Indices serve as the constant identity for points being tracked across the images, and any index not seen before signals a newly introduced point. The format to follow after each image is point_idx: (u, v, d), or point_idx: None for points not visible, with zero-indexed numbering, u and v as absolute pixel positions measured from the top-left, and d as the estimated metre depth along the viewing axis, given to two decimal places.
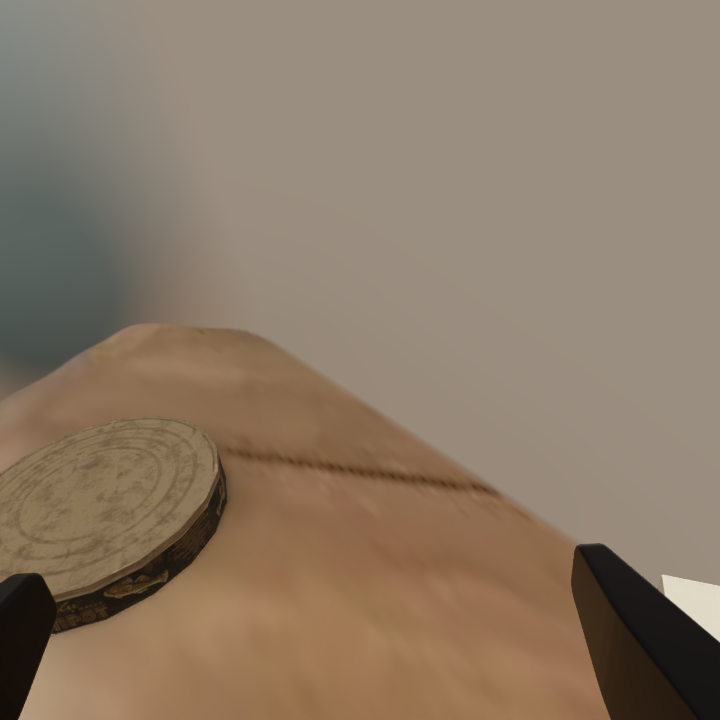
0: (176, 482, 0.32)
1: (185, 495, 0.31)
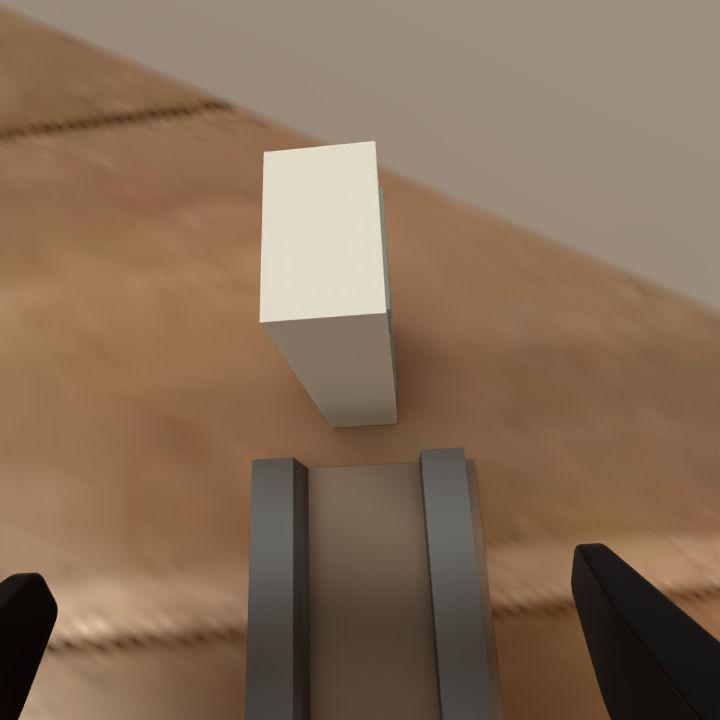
0: None
1: None
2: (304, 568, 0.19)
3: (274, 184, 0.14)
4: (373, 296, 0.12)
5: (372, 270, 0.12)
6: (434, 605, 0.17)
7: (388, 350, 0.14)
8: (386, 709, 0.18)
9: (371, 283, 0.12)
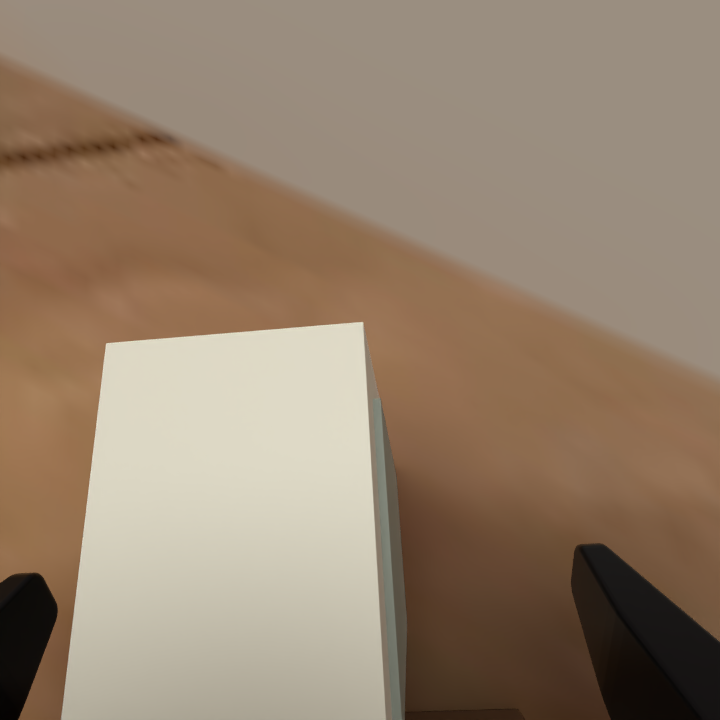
0: None
1: None
2: None
3: (120, 432, 0.06)
4: None
5: None
6: None
7: None
8: None
9: None
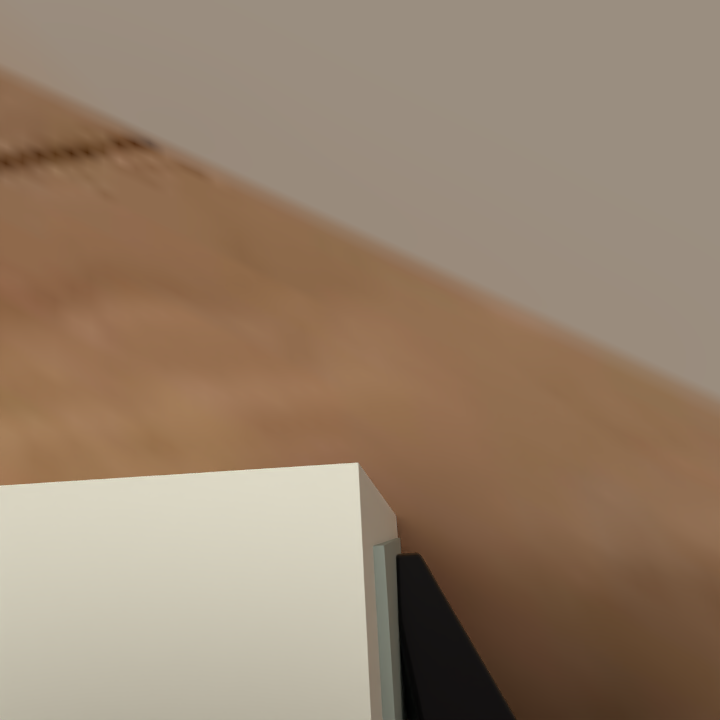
0: None
1: None
2: None
3: None
4: None
5: None
6: None
7: None
8: None
9: None
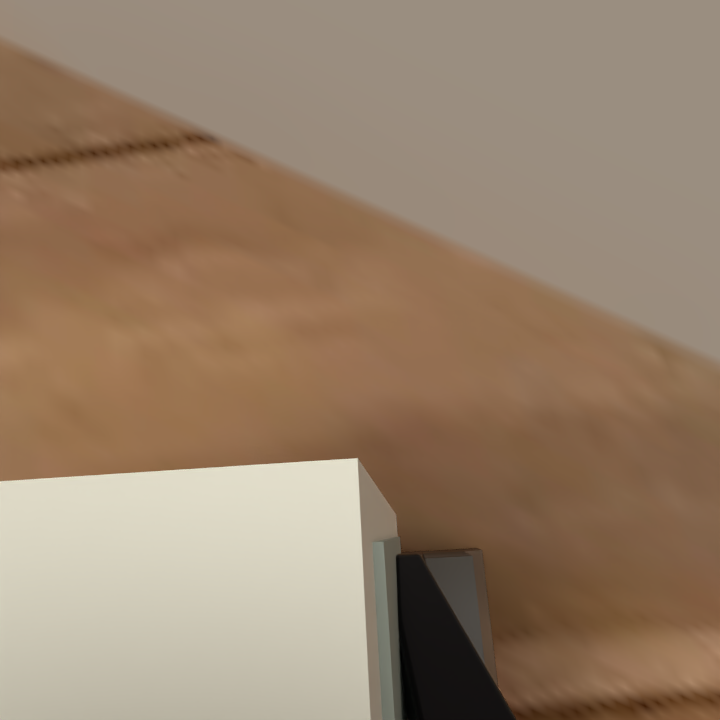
0: None
1: None
2: None
3: None
4: None
5: None
6: None
7: None
8: None
9: None
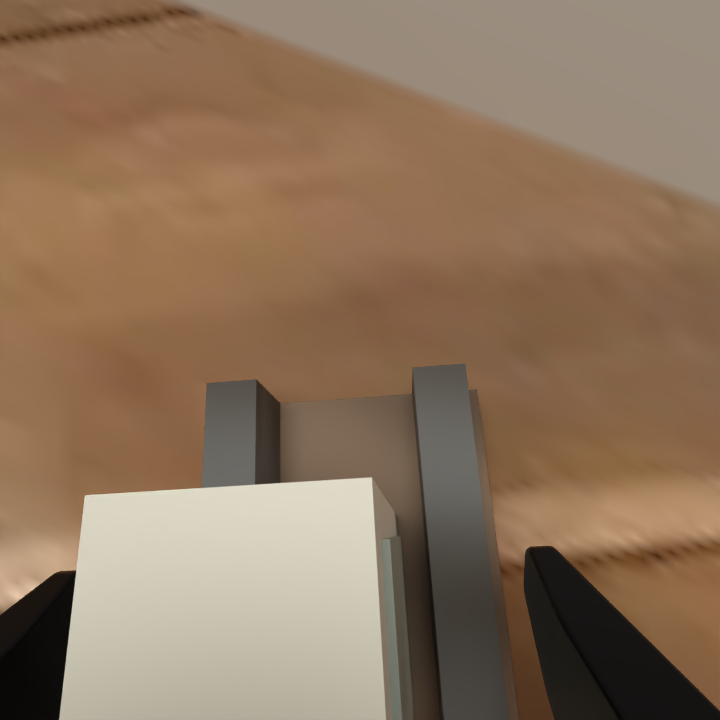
0: None
1: None
2: None
3: (100, 606, 0.05)
4: None
5: None
6: (430, 552, 0.13)
7: None
8: None
9: None
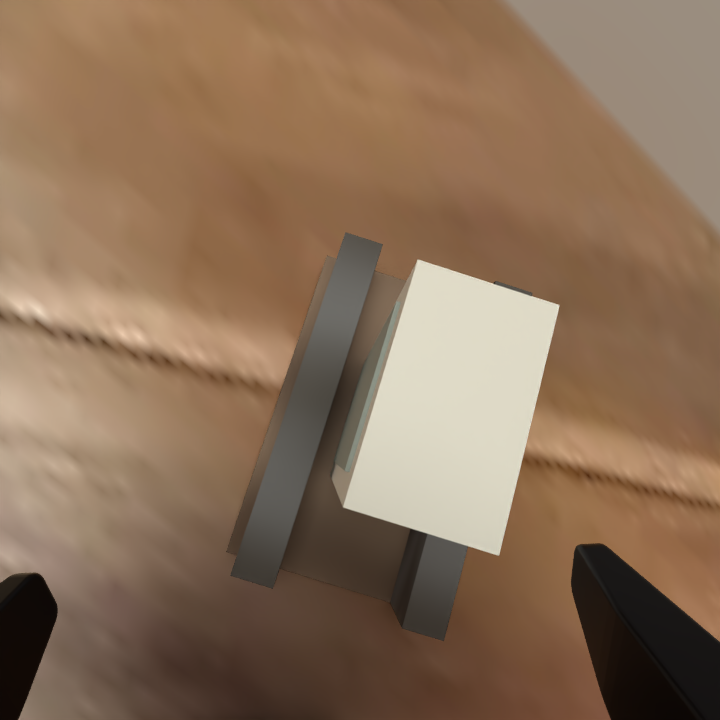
0: None
1: None
2: None
3: (417, 313, 0.10)
4: (491, 527, 0.10)
5: (500, 490, 0.10)
6: None
7: None
8: None
9: (494, 508, 0.10)
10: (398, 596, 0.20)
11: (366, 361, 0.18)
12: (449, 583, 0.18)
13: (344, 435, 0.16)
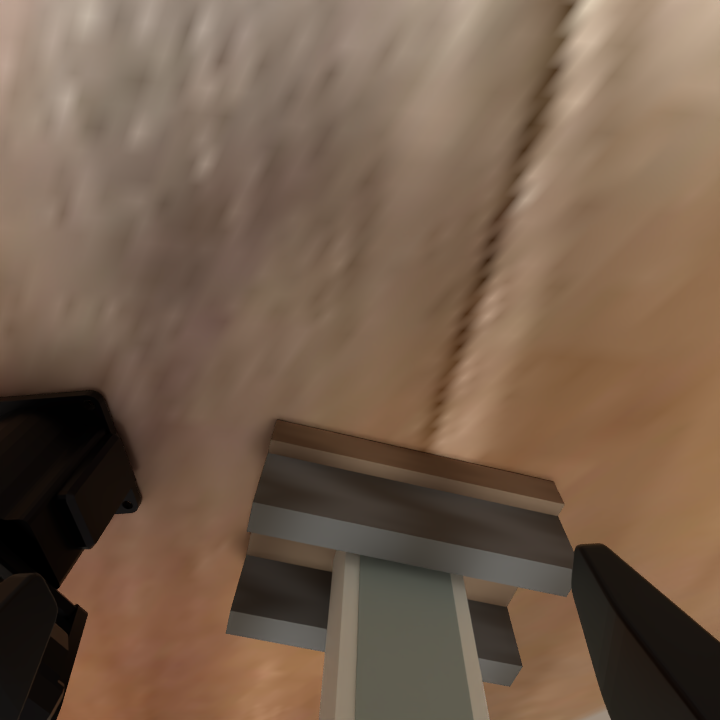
0: None
1: None
2: None
3: None
4: None
5: None
6: None
7: None
8: None
9: None
10: (252, 577, 0.23)
11: (450, 614, 0.19)
12: (269, 637, 0.22)
13: (383, 621, 0.18)
